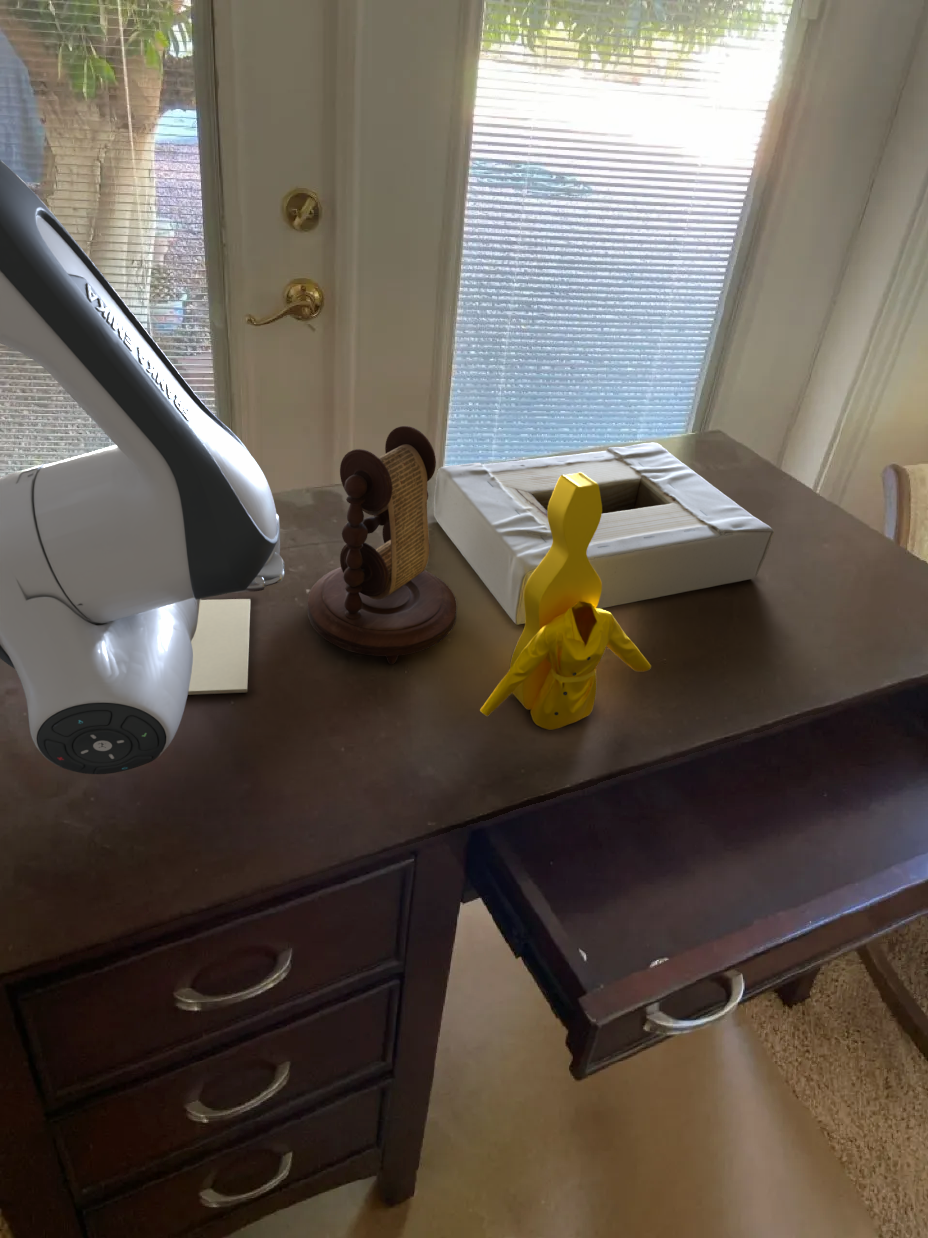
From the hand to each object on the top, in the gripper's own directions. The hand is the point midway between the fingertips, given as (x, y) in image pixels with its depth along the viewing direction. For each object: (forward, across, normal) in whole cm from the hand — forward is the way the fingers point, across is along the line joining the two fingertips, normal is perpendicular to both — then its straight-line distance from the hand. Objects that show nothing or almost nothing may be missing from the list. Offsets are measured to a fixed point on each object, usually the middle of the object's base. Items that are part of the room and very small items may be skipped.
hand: (157, 497), depth 74 cm
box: (+16, -46, +16) cm, 51 cm away
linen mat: (0, 0, +16) cm, 16 cm away
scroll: (+3, -20, +16) cm, 25 cm away
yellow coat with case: (-10, -34, +16) cm, 39 cm away
